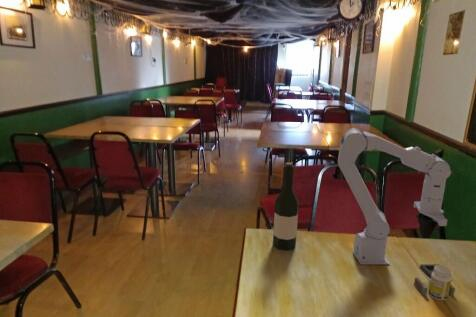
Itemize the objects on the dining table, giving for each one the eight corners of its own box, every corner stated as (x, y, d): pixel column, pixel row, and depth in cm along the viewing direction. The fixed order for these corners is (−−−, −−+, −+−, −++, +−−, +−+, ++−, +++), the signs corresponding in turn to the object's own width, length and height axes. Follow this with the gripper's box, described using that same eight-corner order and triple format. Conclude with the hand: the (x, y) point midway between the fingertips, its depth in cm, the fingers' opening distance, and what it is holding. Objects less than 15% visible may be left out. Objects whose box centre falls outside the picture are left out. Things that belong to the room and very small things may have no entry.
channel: (423, 295, 95) (424, 288, 94) (413, 284, 100) (415, 277, 99) (453, 295, 95) (455, 288, 94) (442, 284, 100) (444, 277, 99)
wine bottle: (270, 239, 125) (274, 160, 117) (292, 238, 126) (297, 160, 118) (275, 251, 117) (279, 167, 109) (299, 250, 118) (305, 166, 110)
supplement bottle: (442, 290, 97) (447, 264, 95) (451, 301, 93) (456, 274, 91) (425, 289, 98) (429, 263, 96) (432, 300, 93) (437, 273, 91)
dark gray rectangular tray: (430, 278, 103) (431, 275, 102) (419, 267, 109) (420, 264, 108) (450, 278, 103) (450, 275, 103) (438, 267, 109) (438, 264, 108)
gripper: (460, 205, 97) (452, 248, 101) (431, 188, 111) (424, 227, 115) (436, 205, 97) (428, 248, 100) (409, 188, 111) (404, 226, 114)
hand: (425, 237), depth 108 cm, fingers closed
